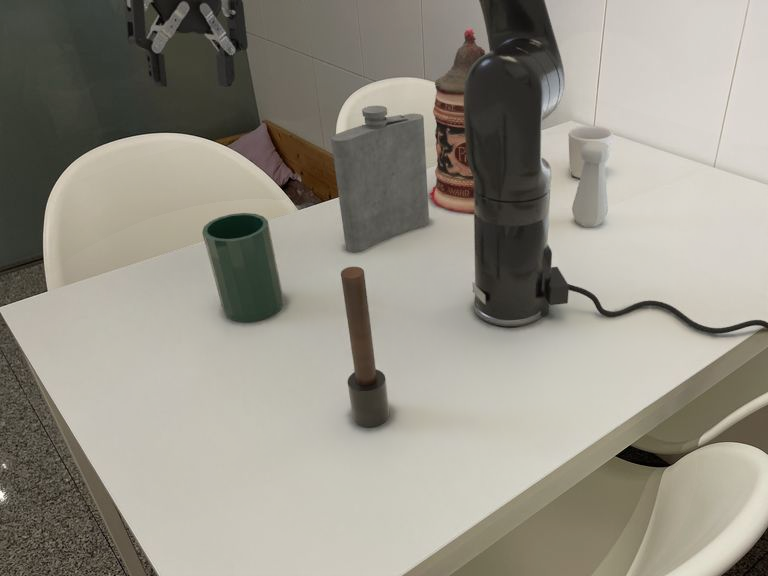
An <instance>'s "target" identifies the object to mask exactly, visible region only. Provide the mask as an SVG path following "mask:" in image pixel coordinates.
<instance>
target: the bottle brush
mask: <svg viewBox="0 0 768 576" xmlns="http://www.w3.org/2000/svg"><path fill="white" fill-rule="evenodd" d="M365 275H366V274H365V270H364V269H363V268H362V267H360V266H347V267H345V268H343V269H342V270H341V271H340V277H341V285H342V292H343V298H344V299H343V300H344V306H345V313H346V321H347V327H348V328H347V329H348V335H349V342H350V348H351V355H352V356H351V357H352V363H353V370H354V372H352V373H351V374H350V375H349V376H348V378H347V381H346V382H347V383H346V384H347V389H348V396H349V401H350V402H349V403H350V408H351V416H352V420H353V422H354V423H355V424H356V425H357V426H360V427H362V428H375V427H379V426H381V425H383V424H384V423H386V422H387V421H388V419H389V418H390V407H389V397H388V390H387V389H388V388H387V381H386V375H385V374H384V373H383V371H381V370H379V369H377V367H376V359H375V352H374V343H373V334H372V327H371V317H370V311H369V302H368V292H367V284H366V277H365Z"/></svg>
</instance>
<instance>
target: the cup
mask: <svg viewBox="0 0 768 576" xmlns="http://www.w3.org/2000/svg"><path fill="white" fill-rule="evenodd" d="M567 134H568V135H567V136H568V160H569V161H568V162H569V163H568V165H569V172H570V173H571V174H572V175H573V176H574V177H575V178H578V179H580V177H581V173H582V169H583V166H584V162H585V161H584V160H583V159H582V157H581V152H582V147H583V146H584V145H585V144H586V143H589V142H602V143H605V144H606V145H607V146H608V147H609V153H610V151H611V147H612V142H613V137H614V134H613V132H612V131H611V130H610V129H609V128H606V127H604V126H603V127H602V126H598V125H581V126H576V127H574V128H571V129H570V130H569V131H568V133H567ZM608 162H609V159H608V160H607V161H605V171H606V170H607V166H608Z"/></svg>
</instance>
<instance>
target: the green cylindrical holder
mask: <svg viewBox="0 0 768 576" xmlns="http://www.w3.org/2000/svg"><path fill="white" fill-rule="evenodd" d="M201 234H202V237H203V241H204V245H205V249H206V252H207V256H208V260H209V263H210V267H211V271H212V275H213V278H214V283H215V286H216V291H217V293H218V298H219V300H220V301H219V302H220V304H221V308H222V310H223V314H224V316H225V317H226V318H227V319H228V320H231V321H233V322H237V323H255V322H260V321H264V320H267V319H270V318H272V317H273V316H275V315H276V314H278V313H279V312H280V311H281V310H282V309H283V307H284V305H285V301H284V296H283V289H282V284H281V280H280V275H279V270H278V264H277V259H276V254H275V249H274V245H273V239H272V235H271V230H270V225H269V221H268V219H267V218H266V217H264V215H260V214H257V213H250V212H238V213H231V214H227V215H223V216H219V217H217V218H214V219H212V220H211V221H209V222H208V223H206V224H205V225H204V226H203V228H202V233H201Z"/></svg>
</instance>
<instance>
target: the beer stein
mask: <svg viewBox="0 0 768 576" xmlns="http://www.w3.org/2000/svg"><path fill="white" fill-rule="evenodd" d="M474 34H475V32H474V30H473V29H468V30H466V29H465V31H464V42H463V44H462V45H461V46H460V47H459V48H458V49H457V51H456V54H455V58H454V60H453V65H452V66H451V68H450V69H449V70H448V71H447V72H446V74H444V75H443V76H441V77H439V78H437V79H436V80H435V81H434V86H435V90H436V94H435V99H434V106H433V109H432V113H433V116H434V120H435V123H436V128H435V132H434V137H435V150H436V156H437V157H436V162H437V166H436V167H435V170H434V175H435V177H436V179H435V180H436V183H435V186H434V187H433V188H432V190H431V192H429V196H430V197H429V196H428V199H430V200H432V202H433V203H434V204H435V205H436V206H438V207H441V208H443V209H446V210H448V211H452V212H458V213H468V214H474V179H473V175H472V172H471V170H470V168H469V165H468V161H467V154H466V139H465V123H464V88H465V82H466V78H467V75H468V73H469V70H470V69H471V67H472V65H473V64H474V63H475V62H476V61H477V60H478V59H479V58H480V57H482V56H483V55H485V54H486V51H485V49H484V48H483V47H481V46H478V44H477V43H476V40H477V38H476V37H475V35H474Z"/></svg>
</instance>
